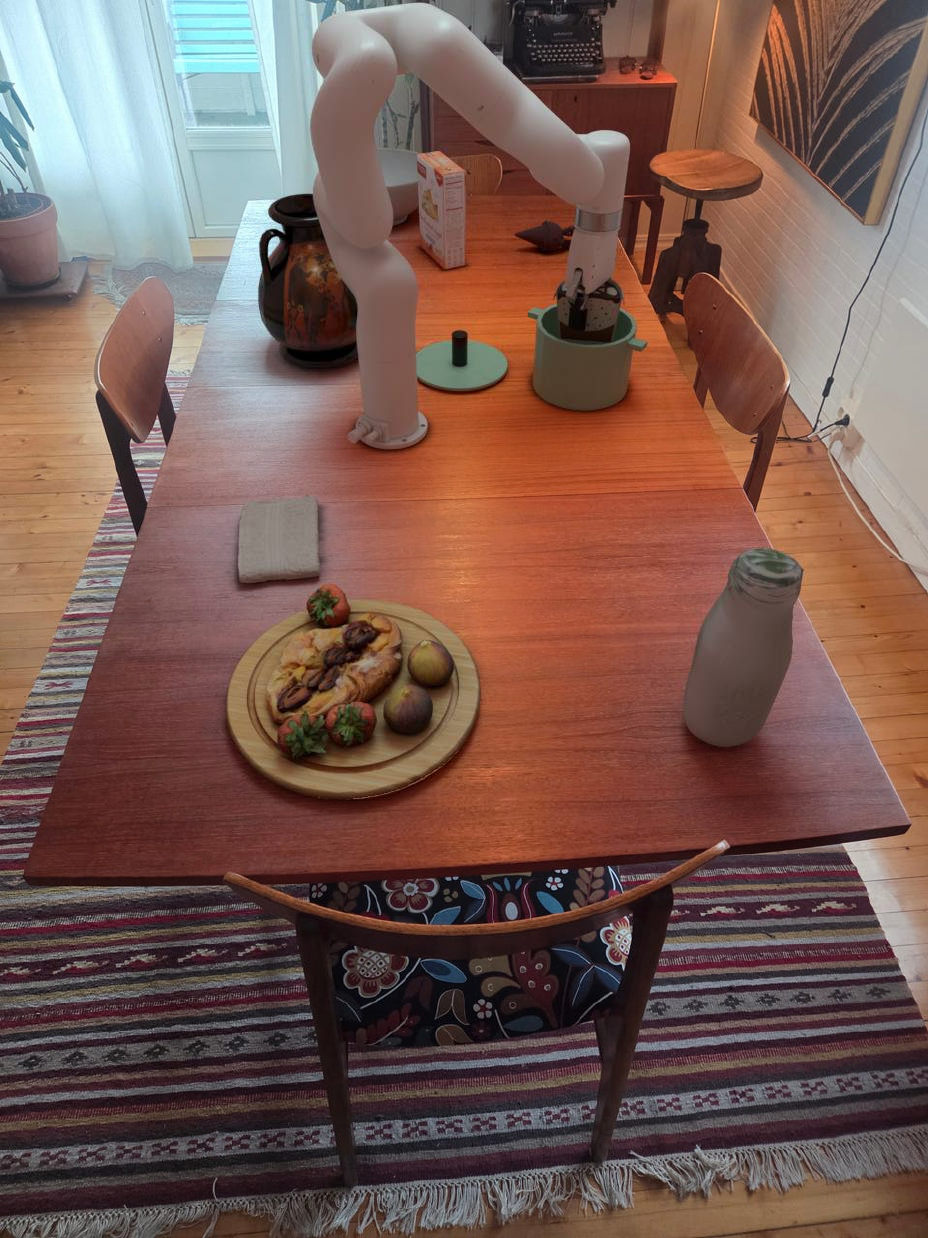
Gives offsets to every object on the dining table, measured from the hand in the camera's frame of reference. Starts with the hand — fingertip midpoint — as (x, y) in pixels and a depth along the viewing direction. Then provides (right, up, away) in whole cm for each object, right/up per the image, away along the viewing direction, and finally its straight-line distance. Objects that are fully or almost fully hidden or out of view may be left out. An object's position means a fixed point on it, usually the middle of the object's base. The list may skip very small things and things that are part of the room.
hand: (586, 319), depth 156 cm
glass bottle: (+9, -67, -47) cm, 83 cm away
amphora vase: (-50, -1, +18) cm, 53 cm away
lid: (-23, -4, +13) cm, 26 cm away
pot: (0, -9, +9) cm, 13 cm away
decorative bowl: (-42, +48, +66) cm, 92 cm away
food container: (+1, -1, +3) cm, 4 cm away
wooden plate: (-36, -63, -44) cm, 85 cm away
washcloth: (-49, -42, -23) cm, 69 cm away
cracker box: (-27, +31, +49) cm, 64 cm away
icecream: (-2, +34, +52) cm, 62 cm away
